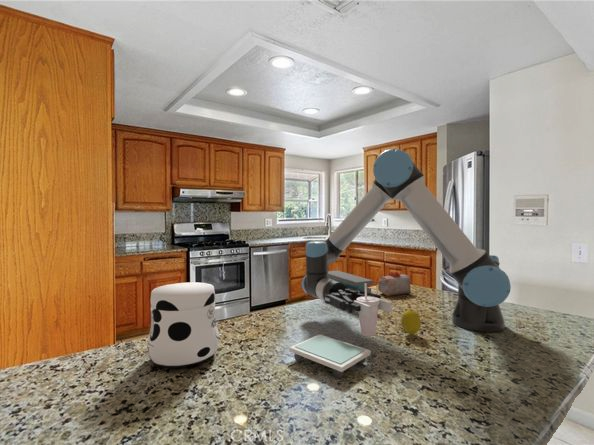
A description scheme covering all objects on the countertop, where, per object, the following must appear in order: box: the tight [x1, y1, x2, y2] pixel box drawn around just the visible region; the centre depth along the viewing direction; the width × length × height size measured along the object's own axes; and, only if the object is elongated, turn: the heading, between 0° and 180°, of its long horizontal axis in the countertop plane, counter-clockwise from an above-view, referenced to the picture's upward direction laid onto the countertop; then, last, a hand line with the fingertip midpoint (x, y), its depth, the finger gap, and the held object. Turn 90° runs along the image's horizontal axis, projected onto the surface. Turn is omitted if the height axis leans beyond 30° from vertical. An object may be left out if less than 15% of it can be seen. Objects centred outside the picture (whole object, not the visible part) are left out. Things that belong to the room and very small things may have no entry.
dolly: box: [288, 333, 371, 379], centre depth 82 cm, size 16×12×4 cm
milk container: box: [146, 281, 220, 369], centre depth 85 cm, size 17×17×18 cm
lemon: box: [401, 308, 422, 336], centre depth 99 cm, size 6×6×8 cm
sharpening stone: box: [328, 270, 374, 293], centre depth 137 cm, size 25×8×11 cm, turn 26°
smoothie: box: [356, 283, 380, 337], centre depth 91 cm, size 6×6×14 cm
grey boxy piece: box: [377, 271, 412, 297], centre depth 150 cm, size 14×8×10 cm, turn 112°
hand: (380, 309), depth 86 cm, fingers closed on smoothie, 6 cm apart
